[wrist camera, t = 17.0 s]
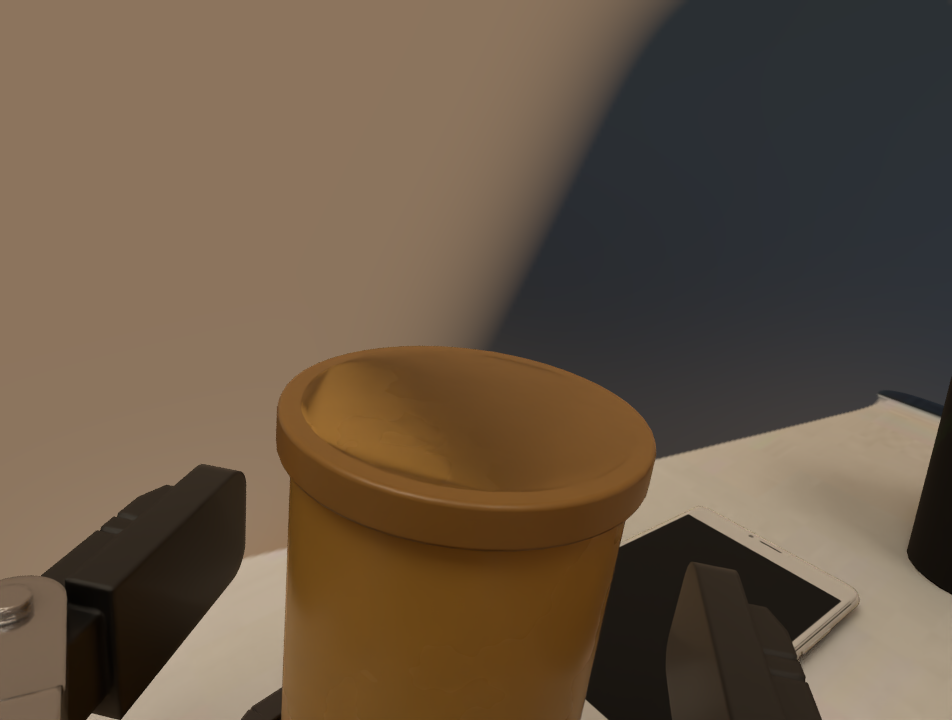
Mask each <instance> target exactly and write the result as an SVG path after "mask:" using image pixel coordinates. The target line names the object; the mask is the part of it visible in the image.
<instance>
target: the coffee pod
mask: <svg viewBox="0 0 952 720" xmlns="http://www.w3.org/2000/svg"><path fill="white" fill-rule="evenodd" d="M276 427H277V428H276V443H277V452H278V455H279V457H280V460H281V463H282V465H283V467H284V468H285V470H286V471H287V473H288V474H289V476H290V496H289V523H288V549H287V576H286V602H285V629H284V656H283V682H282V709H281V720H581V717H582V712H583V708H584V703H585V699H586V694H587V690H588V685H589V681H590V676H591V672H592V667H593V663H594V659H595V654H596V650H597V645H598V641H599V636H600V632H601V627H602V623H603V618H604V614H605V609H606V605H607V601H608V596H609V592H610V587H611V583H612V578H613V574H614V569H615V565H616V560H617V556H618V551H619V547H620V542H621V538H622V534H623V529H624V525H625V521H626V520H627V519H628V518H629V517H630V516H631V515H632V514H633V513H634V512H635V511H636V510H637V509H638V508H639V506H640V505H641V503H642V502H643V500H644V499H645V497H646V494H647V491H648V487H649V484H650V479H651V475H652V471H653V466H654V462H655V458H656V444H655V440H654V437H653V434H652V431H651V429H650V427H649V426H648V424H647V423H646V421H645V420H644V419H643V418H642V416H641V415H640V414H639V413H638V412H637V411H636V410H635V409H634V408H632V407H631V406H630V405H629V404H628V403H626V402H625V401H624V400H622V399H621V398H620V397H618V396H617V395H615V394H614V393H612V392H610V391H608V390H607V389H605V388H603V387H601V386H599V385H597V384H595V383H593V382H591V381H589V380H587V379H585V378H583V377H580V376H577V375H575V374H573V373H570V372H568V371H565V370H562V369H559V368H556V367H553V366H550V365H547V364H543V363H540V362H536V361H533V360H529V359H525V358H520V357H516V356H512V355H507V354H501V353H496V352H489V351H483V350H476V349H467V348H456V347H442V346H400V347H388V348H378V349H370V350H363V351H358V352H353V353H348V354H345V355H341V356H337V357H334V358H330V359H328V360H325V361H322V362H319V363H317V364H315V365H313V366H311V367H309V368H307V369H305V370H304V371H302V372H301V373H299V374H298V375H297V376H295V377H294V378H293V379H292V380H291V381H290V382H289V383H288V384H287V386H286V387H285V389H284V391H283V392H282V394H281V396H280V398H279V402H278V406H277V426H276Z"/></svg>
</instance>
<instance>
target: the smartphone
mask: <svg viewBox="0 0 952 720" xmlns="http://www.w3.org/2000/svg"><path fill="white" fill-rule="evenodd" d="M690 562H697V563H702V564H707V565H712V566H717V567H722V568H727V569H732V570H736V571H737V572H738V574H739V576H740V579H741V583H742V586H743V589H744V592H745V595H746V598H747V601H748V604H753V605H758V606H763V607H767V608H768V609H769V611H770V612H771V613H772V614H773V615H774V616H775V617H776V618H777V620H778V621H779V622H780V623H781V624H782V625H783V626H784V628H785V629H786V630H787V631H788V633H789V635H790V638H791V641H792V643H793V646H794V648H795V651H796V654H797V656H798V657H797V660H798V659H799V656H800V655H801V654H805V653H806V652H807V651H808V650H809V649H811V648H812V647H813V646H814V645H815V644H816V643H817V642H819V641H820V640H821V639H822V638H823V637H824V636H825V635H827V634H828V633H829V632H830V631H831V628H832V627H834V626H835V625H836V624H837V623H838V622H839V621H840V620H842V619H843V618H844V617H845V616H846V615H847V614H849V613H850V612H851V611H852V610H853V609H854V608H856V607H857V605H858V604H859V600H860V598H859V595H858V593H857V591H856V590H855V589H854V588H853V587H851V586H850V585H848V584H846V583H844V582H842V581H841V580H839V579H837V578H835V577H833V576H832V575H830V574H828V573H826V572H824V571H822V570H821V569H819V568H817V567H815V566H813V565H811V564H810V563H808V562H806V561H804V560H802V559H800V558H799V557H797V556H795V555H793V554H791V553H789V552H788V551H786V550H784V549H782V548H780V547H778V546H777V545H775V544H773V543H771V542H769V541H767V540H766V539H764V538H762V537H760V536H758V535H756V534H755V533H753V532H751V531H749V530H747V529H745V528H744V527H742V526H740V525H738V524H736V523H735V522H733V521H731V520H729V519H727V518H725V517H724V516H722V515H720V514H718V513H716V512H714V511H713V510H711V509H709V508H706V507H694V508H693V509H691V510H689V511H686V512H684V513H682V514H680V515H678V516H676V517H674V518H672V519H670V520H667V521H665V522H663V523H661V524H659V525H657V526H655V527H653V528H651V529H649V530H646V531H644V532H642V533H640V534H638V535H636V536H634V537H632V538H630V539H627V540H625V541H623V542H621V543H620V547H619V551H618V556H617V560H616V565H615V569H614V574H613V578H612V583H611V587H610V592H609V596H608V601H607V605H606V609H605V614H604V618H603V623H602V627H601V632H600V636H599V641H598V645H597V650H596V654H595V659H594V663H593V667H592V672H591V676H590V681H589V685H588V690H587V694H586V699H585V703H584V708H583V712H582V717H581V720H672V716H671V708H670V701H669V693H668V685H667V678H666V650H667V642H668V637H669V633H670V629H671V625H672V621H673V618H674V614H675V610H676V606H677V603H678V599H679V595H680V591H681V588H682V584H683V580H684V576H685V573H686V570H687V567H688V565H689V564H690Z"/></svg>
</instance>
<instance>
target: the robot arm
mask: <svg viewBox="0 0 952 720" xmlns="http://www.w3.org/2000/svg"><path fill="white" fill-rule="evenodd" d="M245 523H246V479H245V476H244V474H243V473H242V472H241V471H236V470H231V469H225V468H221V467H215V466H210V465H205V464H201V465H198V466H197V467H196V468H195V469H193V470H192V471H191V472H190V473H189V474H188V475H186V476H185V477H184V478H183V479H182V480H180V481H179V482H178V483H177V484H176V485H175V486H170V485H165V486H162V487H160V488H158V489H155V490H153V491H151V492H148V493H146V494H144V495H141V496H139V497H137V498H136V499H135V500H134V501H132V502H131V503H130V504H129V505H128V506H126V507H125V508H124V509H123V510H121V511H120V512H119V513H118V516H117V517H113V518H111V519H110V520H109V521H108V522H107V523H105V524H104V525H103V526H102V527H101V530H100V531H96V532H94V533H93V534H92V535H91V536H89V537H88V538H87V539H86V540H84V541H83V542H82V543H81V544H79V545H78V546H77V547H76V548H74V549H73V550H72V551H71V552H69V553H68V554H67V555H66V556H65V557H63V558H62V559H61V560H60V561H59V562H57V563H56V564H55V565H53V567H51V568H50V569H48V570H47V571H46V572H45V573H44V574H42V575H41V576H32V575H31V576H17V577H11V578H6V579H2V580H0V720H86V719H87V718H88V717H89V716H90V714H91V713H94V714H98V715H102V716H106V717H110V718H114V719H118V720H121V719H122V718H123V716H124V715H125V714H126V713H127V711H128V710H129V709H130V708H131V706H132V705H133V704H134V703H135V701H136V700H137V699H138V698H139V696H140V695H141V694H142V693H143V691H144V690H145V689H146V688H147V686H148V685H149V684H150V683H151V681H152V680H153V679H154V678H155V676H156V675H157V674H158V673H159V671H160V670H161V669H162V668H163V666H164V665H165V664H166V663H167V661H168V660H169V659H170V658H171V656H172V655H173V654H174V653H175V651H176V650H177V649H178V648H179V646H180V645H181V644H182V643H183V641H184V640H185V639H186V638H187V636H188V635H189V634H190V633H191V631H192V630H193V629H194V628H195V626H196V625H197V624H198V623H199V621H200V620H201V619H202V618H203V616H204V615H205V614H206V613H207V611H208V610H209V609H210V608H211V606H212V605H213V604H214V603H215V601H216V600H217V599H218V598H219V596H220V595H221V594H222V593H223V591H224V590H225V589H226V588H227V586H228V585H229V584H230V583H231V581H232V580H233V579H234V577H235V576H236V574H237V572H238V570H239V567H240V565H241V562H242V559H243V555H244V550H245V527H246V526H245ZM797 657H798V656H797V654H796V651H795V648H794V646H793V643H792V641H791V638H790V635H789V633H788V631H787V630H786V629H785V628H784V626H783V625H782V624H781V623H780V622H779V621H778V620H777V618H776V617H775V616H774V615H773V614H772V613H771V612H770V611H769V609H768V608H767V607H763V606H758V605H753V604H748V601H747V598H746V595H745V592H744V589H743V586H742V583H741V579H740V576H739V574H738V572H737V571H736V570H732V569H727V568H722V567H717V566H712V565H707V564H702V563H697V562H690V564H689V565H688V567H687V570H686V573H685V576H684V580H683V584H682V588H681V591H680V595H679V599H678V603H677V606H676V610H675V614H674V618H673V621H672V625H671V629H670V633H669V637H668V642H667V650H666V678H667V685H668V693H669V701H670V708H671V716H672V720H822V719H821V716H820V714H819V711H818V708H817V706H816V703H815V701H814V698H813V695H812V693H811V690H810V688H809V685H808V683H806V682H805V678H806V677H805V675H804V672H803V669H802V667H801V664H800V662H799V661H797Z"/></svg>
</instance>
